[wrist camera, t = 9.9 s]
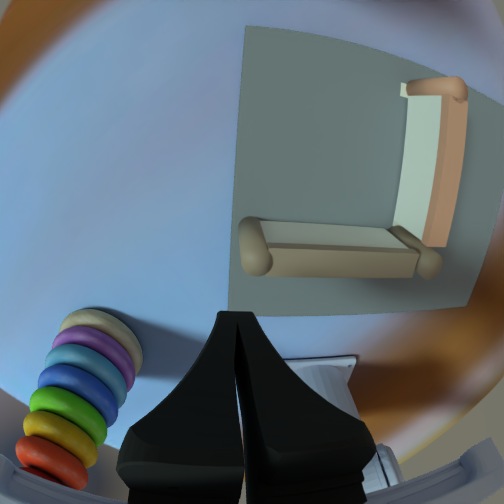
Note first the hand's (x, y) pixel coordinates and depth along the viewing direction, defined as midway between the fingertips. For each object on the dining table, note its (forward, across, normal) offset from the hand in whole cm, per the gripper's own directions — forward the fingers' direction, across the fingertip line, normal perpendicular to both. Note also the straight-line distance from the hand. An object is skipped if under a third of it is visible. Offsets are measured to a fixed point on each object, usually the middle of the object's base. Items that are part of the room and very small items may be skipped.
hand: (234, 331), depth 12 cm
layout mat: (+9, -12, -4) cm, 16 cm away
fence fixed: (+9, -7, -1) cm, 12 cm away
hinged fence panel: (+9, -12, -7) cm, 16 cm away
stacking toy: (+10, +11, +10) cm, 18 cm away
